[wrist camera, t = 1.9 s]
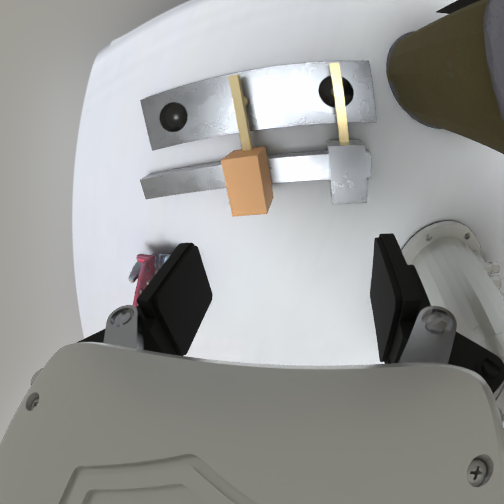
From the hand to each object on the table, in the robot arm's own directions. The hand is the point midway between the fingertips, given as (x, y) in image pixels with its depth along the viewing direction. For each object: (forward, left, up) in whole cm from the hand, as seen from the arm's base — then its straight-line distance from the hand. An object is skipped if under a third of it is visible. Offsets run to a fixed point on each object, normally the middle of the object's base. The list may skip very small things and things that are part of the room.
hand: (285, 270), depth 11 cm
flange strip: (+4, -7, -18) cm, 20 cm away
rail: (+6, 0, -18) cm, 19 cm away
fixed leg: (-4, -4, -16) cm, 17 cm away
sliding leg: (+5, -4, -16) cm, 17 cm away
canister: (-14, -9, -18) cm, 25 cm away
